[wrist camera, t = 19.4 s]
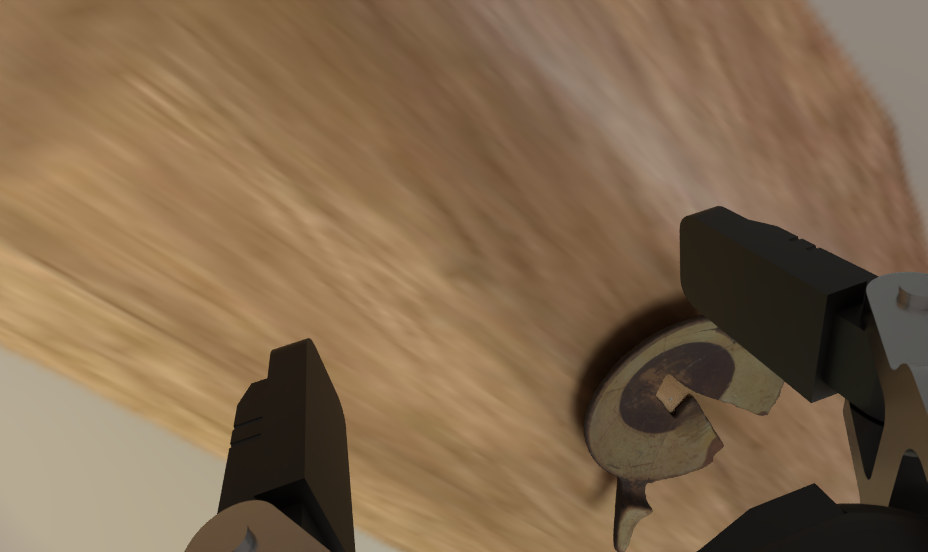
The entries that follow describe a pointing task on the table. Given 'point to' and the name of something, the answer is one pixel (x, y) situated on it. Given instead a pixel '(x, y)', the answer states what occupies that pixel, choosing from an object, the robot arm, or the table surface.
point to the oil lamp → (651, 425)
